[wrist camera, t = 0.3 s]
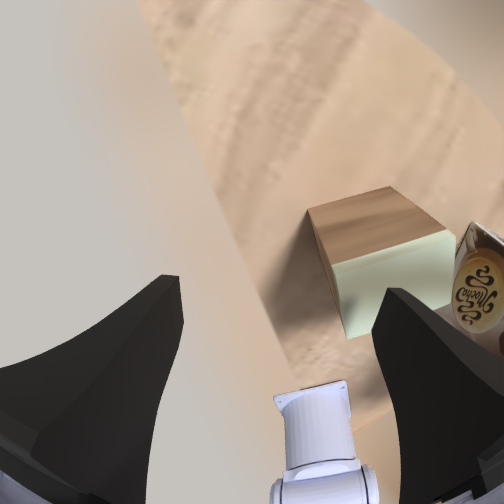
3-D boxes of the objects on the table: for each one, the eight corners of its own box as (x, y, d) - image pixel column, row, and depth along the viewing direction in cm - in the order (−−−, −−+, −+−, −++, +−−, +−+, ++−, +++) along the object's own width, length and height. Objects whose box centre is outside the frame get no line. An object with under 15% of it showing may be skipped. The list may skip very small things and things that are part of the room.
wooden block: (396, 237, 19) (450, 303, 12) (320, 259, 20) (346, 339, 13) (389, 186, 17) (455, 236, 10) (307, 208, 18) (335, 275, 11)
